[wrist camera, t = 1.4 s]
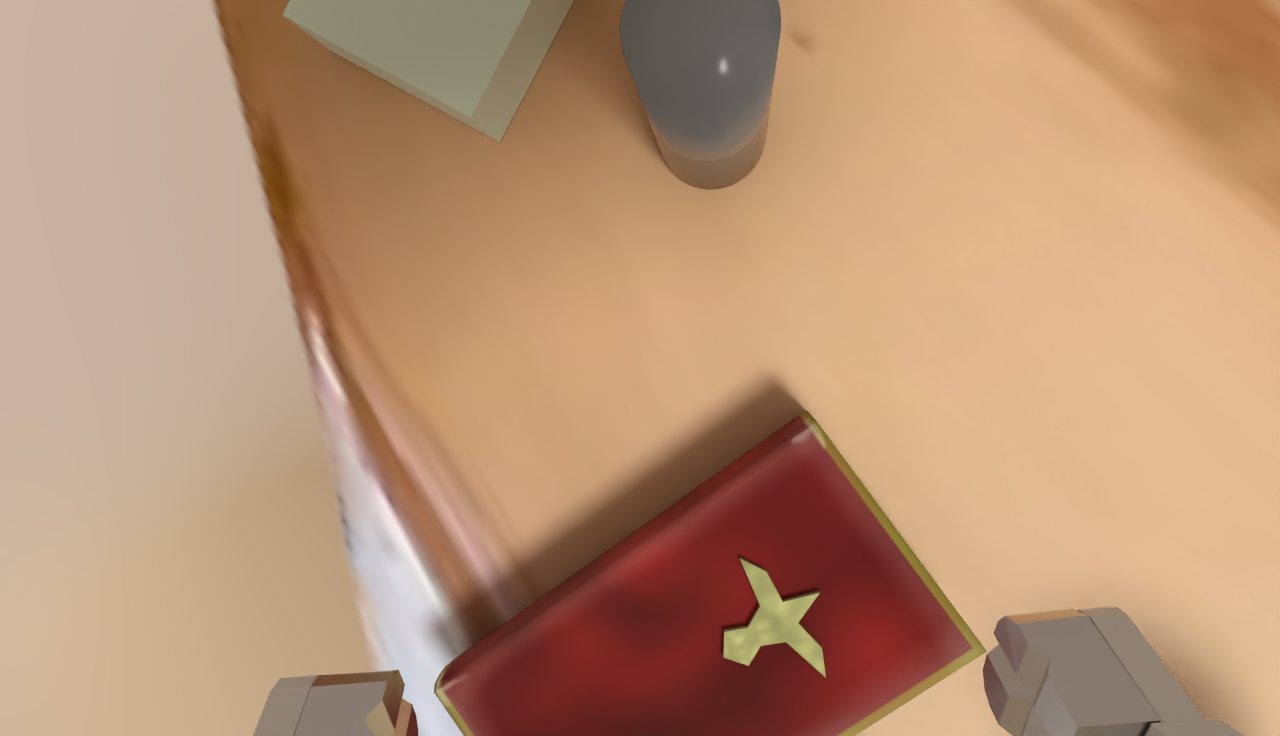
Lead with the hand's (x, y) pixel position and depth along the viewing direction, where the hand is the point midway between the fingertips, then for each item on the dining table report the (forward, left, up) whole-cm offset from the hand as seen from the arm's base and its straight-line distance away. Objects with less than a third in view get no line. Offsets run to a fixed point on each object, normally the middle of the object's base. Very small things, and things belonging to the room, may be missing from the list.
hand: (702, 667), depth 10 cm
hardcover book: (+9, +3, -26) cm, 28 cm away
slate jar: (-12, -8, -25) cm, 29 cm away
